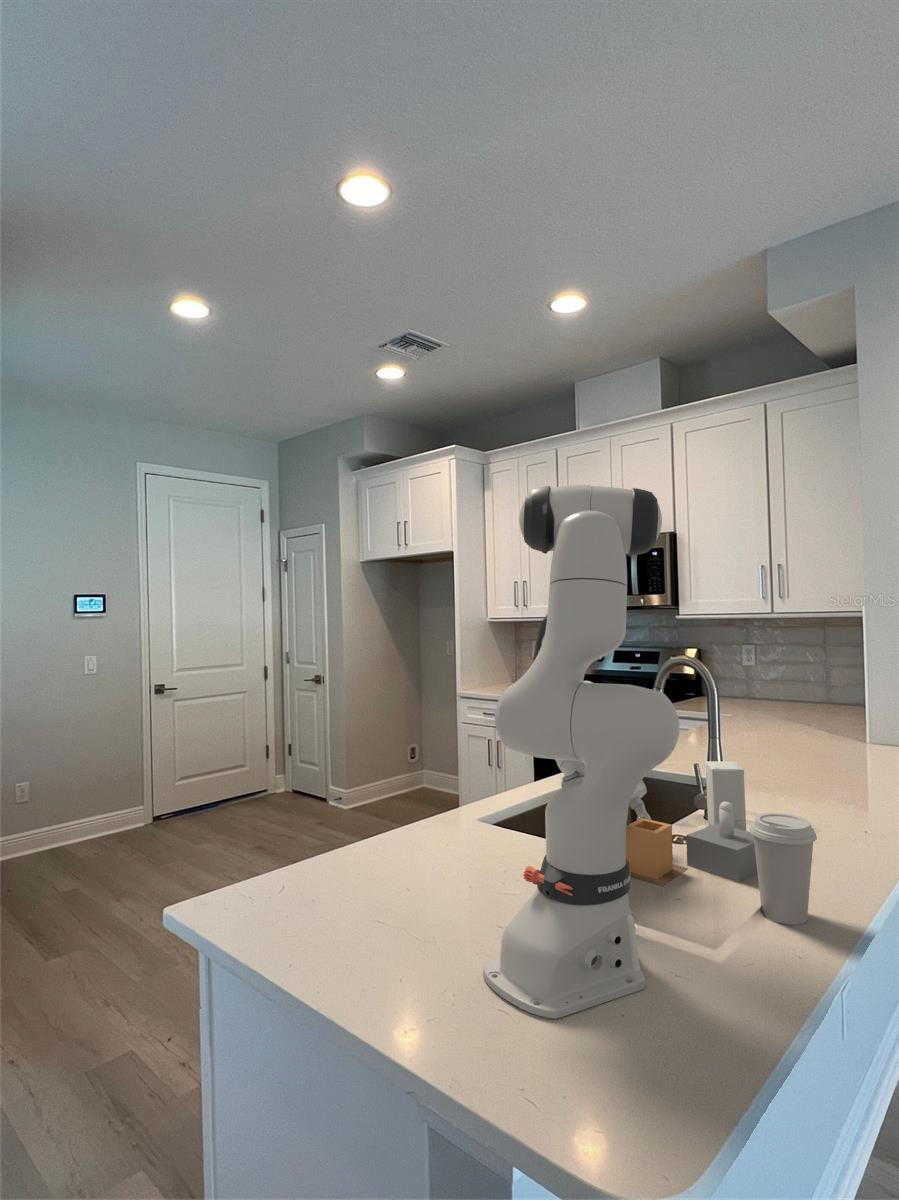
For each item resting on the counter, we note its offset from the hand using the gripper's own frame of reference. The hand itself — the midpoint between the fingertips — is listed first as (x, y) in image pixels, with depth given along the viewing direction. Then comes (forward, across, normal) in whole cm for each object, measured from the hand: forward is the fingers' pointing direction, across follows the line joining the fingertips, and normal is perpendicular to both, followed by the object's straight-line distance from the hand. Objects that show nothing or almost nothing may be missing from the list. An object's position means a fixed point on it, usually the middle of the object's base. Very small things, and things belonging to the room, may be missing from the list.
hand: (635, 829), depth 127 cm
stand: (+8, 0, +4) cm, 9 cm away
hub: (+15, +10, -3) cm, 18 cm away
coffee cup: (+24, 0, -12) cm, 27 cm away
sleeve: (+7, 0, +3) cm, 7 cm away
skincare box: (+10, +28, +2) cm, 30 cm away
